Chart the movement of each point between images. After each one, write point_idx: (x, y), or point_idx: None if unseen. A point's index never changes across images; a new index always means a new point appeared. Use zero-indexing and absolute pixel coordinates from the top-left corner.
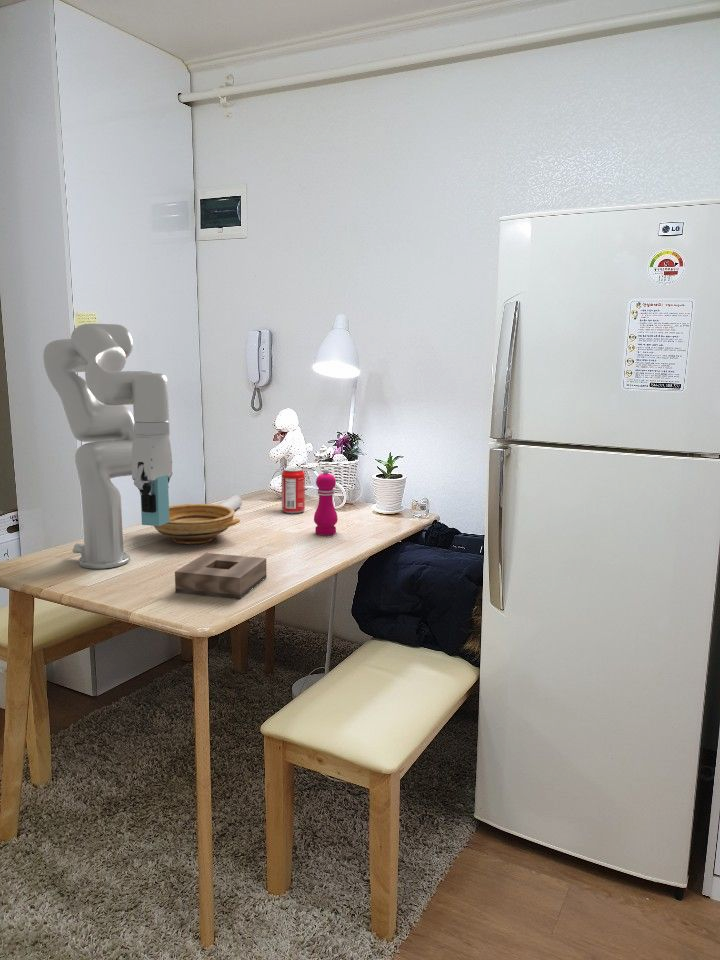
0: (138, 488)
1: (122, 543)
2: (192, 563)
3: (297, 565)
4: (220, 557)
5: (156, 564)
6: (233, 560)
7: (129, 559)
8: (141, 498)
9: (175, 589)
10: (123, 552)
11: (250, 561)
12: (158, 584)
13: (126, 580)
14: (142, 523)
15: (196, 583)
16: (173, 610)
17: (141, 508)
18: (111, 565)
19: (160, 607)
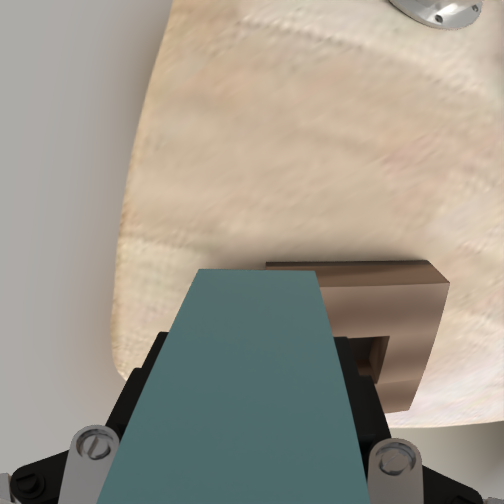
0: (20, 470)
1: (471, 2)
2: (351, 297)
3: (463, 388)
4: (412, 334)
5: (458, 105)
6: (390, 369)
7: (456, 29)
8: (148, 383)
9: (266, 265)
10: (480, 4)
11: (384, 398)
12: (313, 188)
13: (317, 86)
14: (198, 275)
15: None
16: (164, 308)
17: (173, 324)
18: (395, 2)
19: (166, 277)
